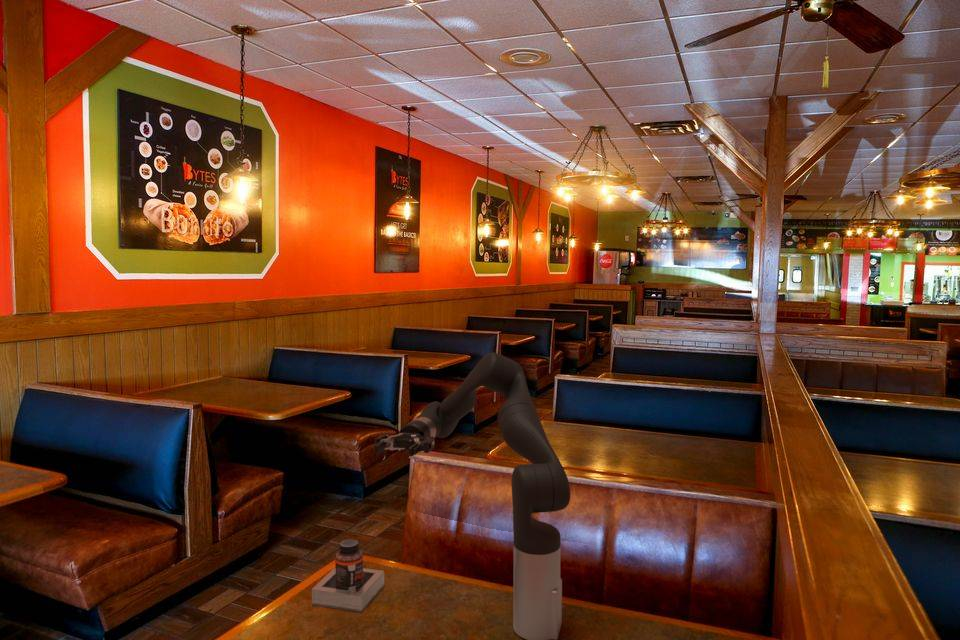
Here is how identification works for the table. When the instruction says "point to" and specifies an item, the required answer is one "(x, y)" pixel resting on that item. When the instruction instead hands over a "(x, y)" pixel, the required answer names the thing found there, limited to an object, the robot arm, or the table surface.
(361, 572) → the supplement bottle
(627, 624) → the table surface
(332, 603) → the square holder
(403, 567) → the table surface
